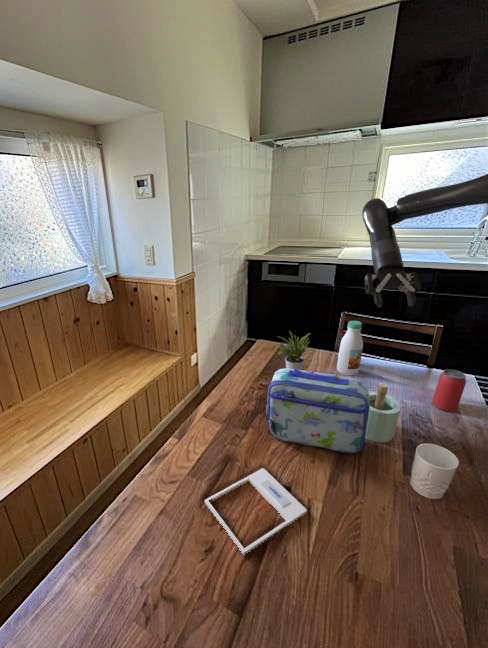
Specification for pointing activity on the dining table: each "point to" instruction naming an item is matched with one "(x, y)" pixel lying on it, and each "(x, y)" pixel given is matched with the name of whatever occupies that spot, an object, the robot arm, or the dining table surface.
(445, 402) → the beer can
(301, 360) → the house plant
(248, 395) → the dining table surface
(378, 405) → the brush
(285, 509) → the photo frame
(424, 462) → the white cup
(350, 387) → the lunch box
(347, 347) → the milk bottle
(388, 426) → the jar
